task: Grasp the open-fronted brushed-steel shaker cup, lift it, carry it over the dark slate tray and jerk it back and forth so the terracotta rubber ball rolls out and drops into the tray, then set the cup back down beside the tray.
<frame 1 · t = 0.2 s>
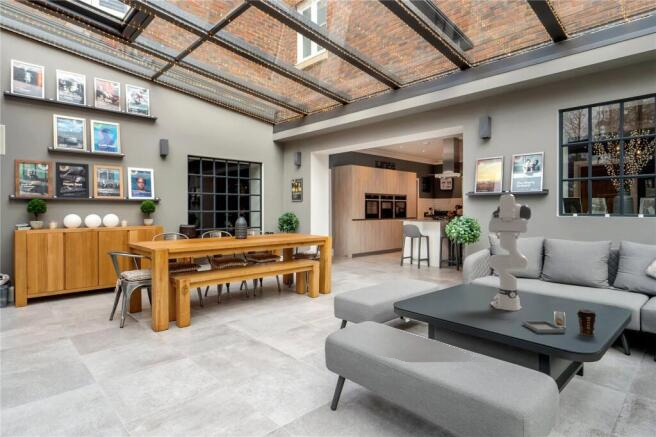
hand: (507, 238, 203), 54 cm above the table, tool tilted 30°, fingers open, 8 cm apart
ball: (559, 321, 211), point 2 cm above the table, tilted 12°, touching shaker
tray: (542, 329, 205), on the table
shaker: (559, 326, 211), on the table, touching ball
coffee cup: (586, 334, 197), on the table
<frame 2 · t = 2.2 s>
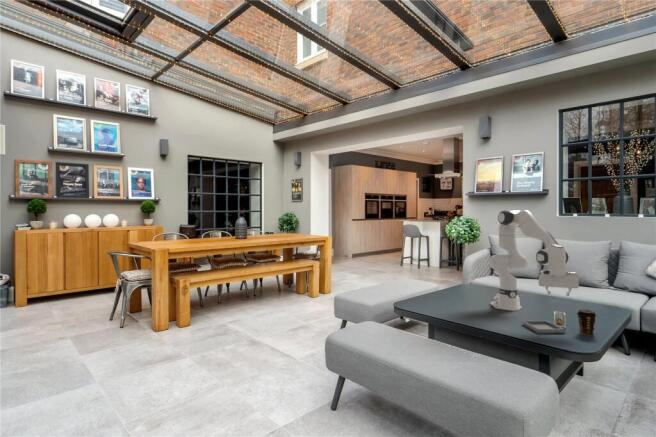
hand: (558, 294, 208), 20 cm above the table, tool pointing down, fingers open, 8 cm apart
nothing on the table moved.
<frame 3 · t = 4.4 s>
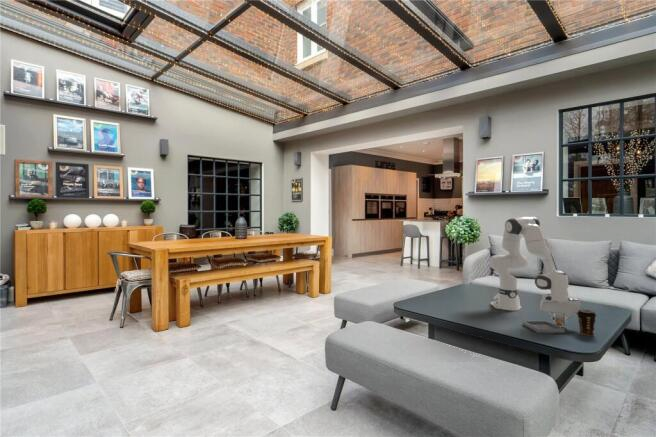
hand: (559, 320, 211), 4 cm above the table, tool pointing down, fingers closed on shaker, 5 cm apart
shaker: (559, 326, 211), on the table, touching ball, gripper
everything else where it was.
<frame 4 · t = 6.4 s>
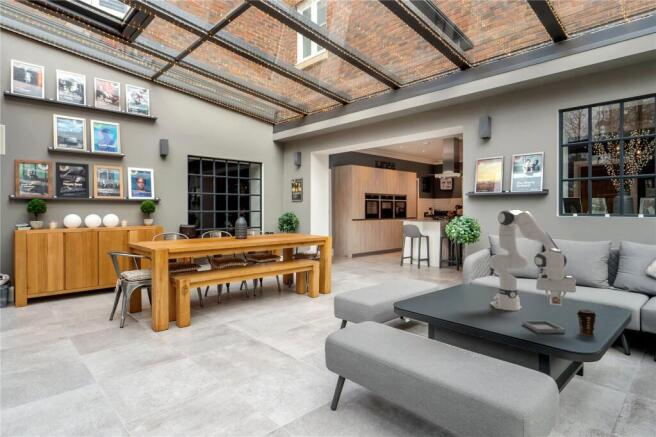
hand: (555, 298, 210), 17 cm above the table, tool pointing down, fingers closed on shaker, 5 cm apart
ball: (555, 300, 211), point 16 cm above the table, tilted 13°, touching shaker
shaker: (555, 304, 210), point 13 cm above the table, touching ball, gripper
everything else where it was.
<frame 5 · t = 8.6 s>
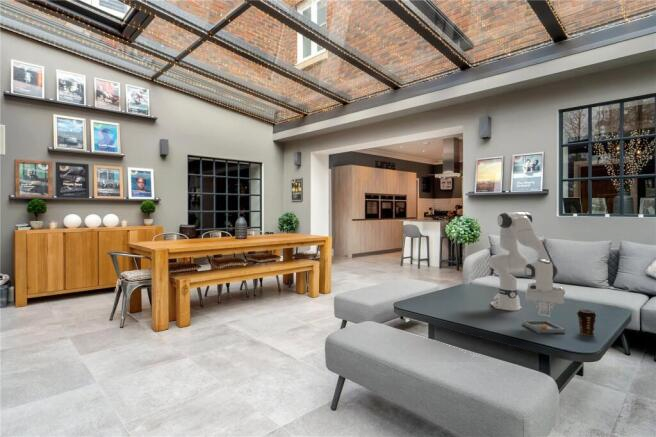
hand: (544, 309, 210), 11 cm above the table, tool pointing down, fingers closed on shaker, 5 cm apart
ball: (544, 326, 203), point 2 cm above the table, tilted 18°, touching tray
shaker: (544, 315, 210), point 7 cm above the table, touching gripper
everything else where it was.
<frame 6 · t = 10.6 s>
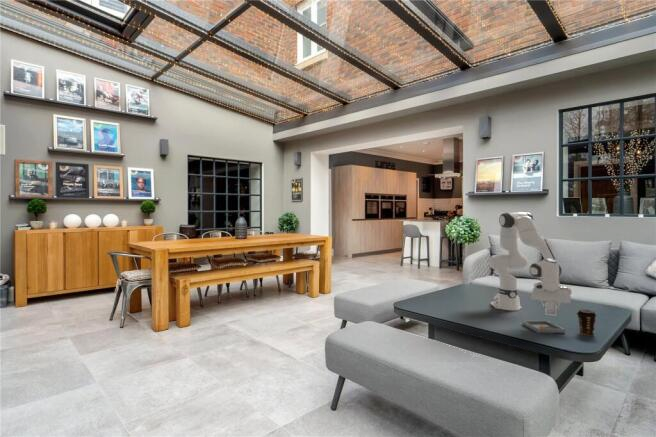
hand: (550, 308, 210), 11 cm above the table, tool pointing down, fingers closed on shaker, 5 cm apart
ball: (542, 327, 202), point 2 cm above the table, tilted 74°, touching tray
shaker: (550, 314, 210), point 7 cm above the table, touching gripper
everything else where it was.
when the fingers open (5 cm above the table, at t = 12.6 s): shaker stays where it is, on the table.
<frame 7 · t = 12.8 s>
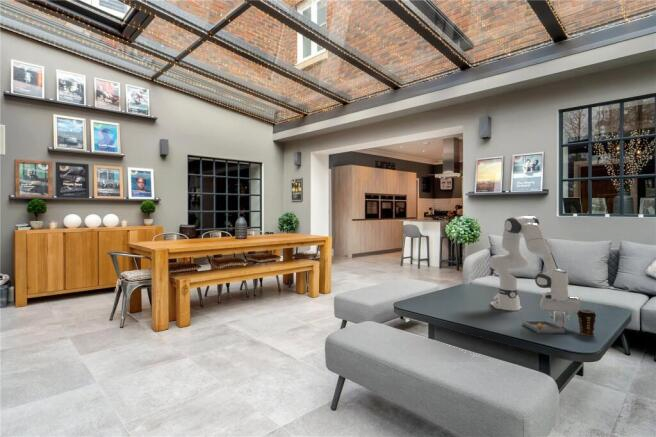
hand: (559, 318, 211), 5 cm above the table, tool pointing down, fingers open, 7 cm apart
ball: (539, 325, 204), point 2 cm above the table, tilted 53°, touching tray
shaker: (559, 326, 211), on the table
everything else where it was.
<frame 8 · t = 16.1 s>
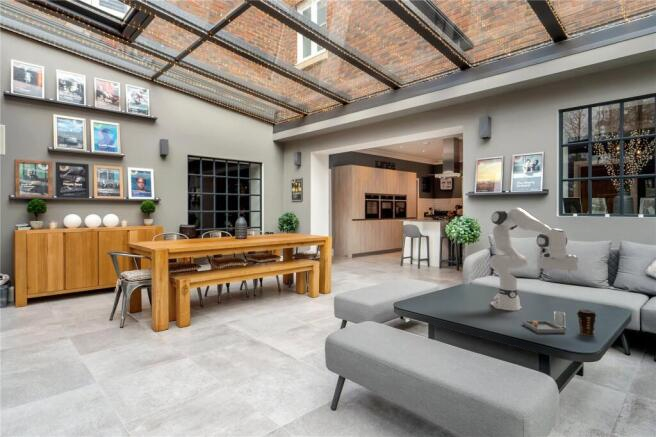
hand: (557, 276, 217), 29 cm above the table, tool pointing down, fingers open, 8 cm apart
ball: (535, 323, 209), point 2 cm above the table, tilted 135°, touching tray
everything else where it was.
at the end: ball inside the target area on the tray (4.1 cm from its centre), point 2.3 cm above the tray's base; ball touching tray; the gripper is holding nothing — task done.
